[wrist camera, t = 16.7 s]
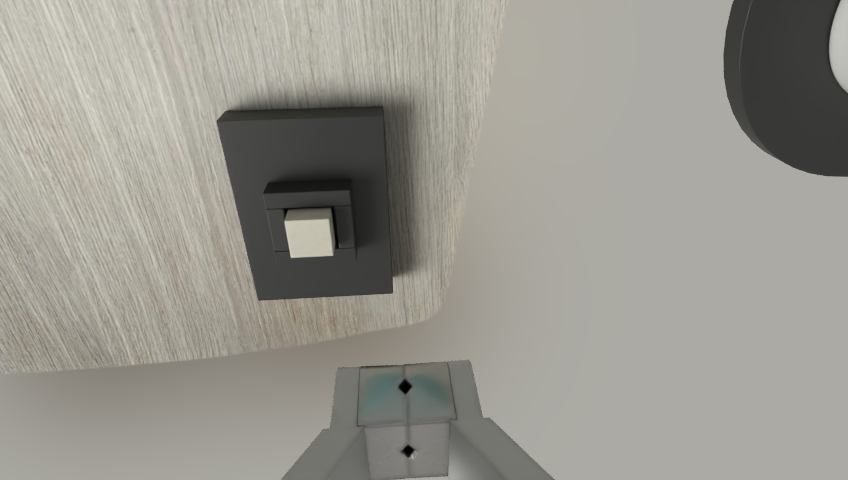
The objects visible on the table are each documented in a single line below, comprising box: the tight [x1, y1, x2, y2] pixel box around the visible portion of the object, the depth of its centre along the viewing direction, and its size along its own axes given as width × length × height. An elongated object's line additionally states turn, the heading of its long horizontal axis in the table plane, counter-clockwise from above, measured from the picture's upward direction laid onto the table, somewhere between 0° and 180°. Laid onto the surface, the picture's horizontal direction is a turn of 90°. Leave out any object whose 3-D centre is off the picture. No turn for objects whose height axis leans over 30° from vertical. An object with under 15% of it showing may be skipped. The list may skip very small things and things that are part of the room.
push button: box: [284, 207, 335, 258], centre depth 35 cm, size 3×3×2 cm
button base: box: [217, 106, 393, 301], centre depth 37 cm, size 11×15×4 cm
